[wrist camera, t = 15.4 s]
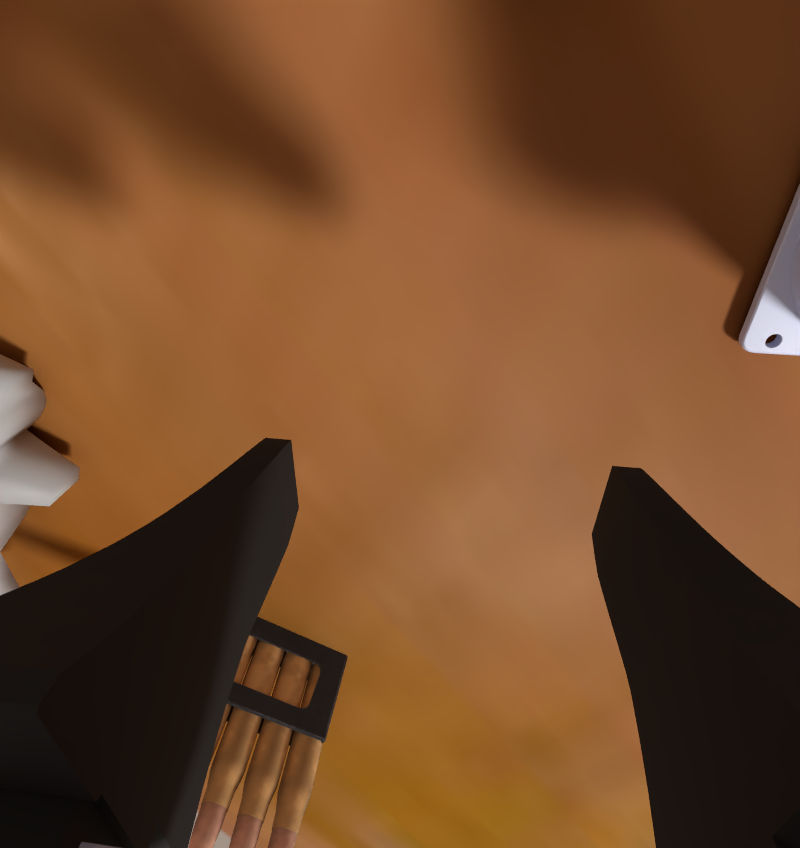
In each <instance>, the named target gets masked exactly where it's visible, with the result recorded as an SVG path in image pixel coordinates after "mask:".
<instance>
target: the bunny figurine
mask: <svg viewBox="0 0 800 848" xmlns="http://www.w3.org/2000/svg"><path fill="white" fill-rule="evenodd" d="M33 373H34V370H33V369H31V368H29V367H27V366H25V365H22V364H20V363H18V362H16V361H14V360H12V359H9V358H7V357H5V356H3V355H1V354H0V551H1V550H2V549H3V547H4V546H5V544H6V543H7V541H8V540H9V538H10V537H11V536H12V534H13V533H14V531H15V530H16V528H17V527H18V525H19V524H20V523H21V521H22V520H23V518H24V517H25V515H26V514H27V512H28V509H29V507H30V505H37V506H50V505H51V504H52V503H54V502H55V501H56V500H57V499H58V498H59V497H60V496H61V495H62V494H63V493H64V492H66V491H67V490H68V489H69V488H70V487H71V486H72V485H73V484H74V483H75V482H77V481H78V480H79V467H78V466H76V465H75V464H73V463H72V462H71V461H69V460H68V459H66V458H65V457H64V456H62V455H61V454H59V453H58V452H57V451H55V450H54V449H52V448H51V447H50V446H48V445H47V444H45V443H44V442H43V441H41V440H40V439H38V438H37V437H36V436H35V435H33V434H32V433H31V432H29V431H28V430H27V429H28V428H29V427H30V426H31V425H32V424H33V423H34V422H35V421H36V420H37V419H38V418H39V417H40V416H41V414H42V412H43V410H44V408H45V405H46V397H45V393H44V391H43V390H42V389H41V388H39V387H38V386H37V385H36V384H34V383H33V382H32V379H33ZM17 588H19V586H18V584H17V582H16V580H15V578H14V576H13V575H12V573H11V571H10V569H9V567H8V566H7V564H6V562H5V560H4V558H3V557H2V555H1V553H0V595H2V594H4V593H7V592H10V591H12V590H14V589H17Z"/></svg>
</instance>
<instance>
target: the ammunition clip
mask: <svg viewBox="0 0 800 848" xmlns="http://www.w3.org/2000/svg"><path fill="white" fill-rule="evenodd" d="M252 655H253V656H252ZM251 656H252V659H251ZM250 659H251V662H250V664H249V661H250ZM346 661H347V655H345V654H342V653H340V652H338V651H335V650H333V649H331V648H328V647H326V646H324V645H321V644H319V643H317V642H314V641H312V640H310V639H308V638H305V637H303V636H301V635H298V634H296V633H294V632H291V631H289V630H287V629H284V628H282V627H280V626H277V625H275V624H273V623H271V622H268V621H266V620H264V619H261V618H259V617H257V618H256V620H255V623H254V625H253V627H252V630H251V632H250V635H249V637H248V640H247V642H246V645H245V648H244V651H243V654H242V657H241V660H240V663H239V666H238V669H237V672H236V676H235V679H234V682H233V685H232V688H231V691H230V695H229V698H228V701H227V705H226V708H225V711H224V715H223V718H222V721H221V725H220V728H219V731H218V735H217V738H216V742H215V746H214V749H213V753H212V756H211V759H212V757H213V754H214V751H215V749H216V746H217V744H218V741H219V739H220V736H221V733H222V731H223V728H224V726H225V723H226V721H228V723H227V726H226V728H225V731H224V734H223V736H222V739H221V742H220V745H219V747H218V750H217V753H216V755H215V758H214V761H213V763H212V767H211V770H210V775H209V780H208V785H207V789H206V792H205V795H204V798H203V801H202V804H201V808H200V811H199V814H198V817H197V819H196V822H195V826H194V829H193V832H192V836H191V839H190V843H189V847H188V848H213V846H214V844H215V841H216V839H217V836H218V834H219V832H220V829H221V826H222V824H223V821H224V818H225V815H226V812H227V811H228V808H229V806H230V803H231V800H232V798H233V795H234V793H235V791H236V789H237V787H238V785H239V783H240V781H241V779H242V777H243V775H244V772H245V769H246V766H247V763H248V760H249V757H250V754H251V751H252V748H253V745H254V742H255V739H256V736H257V733H259V737H258V740H257V744H256V747H255V750H254V753H253V756H252V759H251V762H250V766H249V769H248V772H247V775H246V778H245V782H244V788H243V795H242V801H241V804H240V808H239V812H238V815H237V821H236V824H235V828H234V831H233V834H232V838H231V842H230V846H229V848H255V846H256V843H257V840H258V837H259V833H260V830H261V826H262V824H263V822H264V819H265V816H266V813H267V810H268V806H269V804H270V802H271V799H272V797H273V795H274V793H275V791H276V788H277V785H278V782H279V779H280V775H281V771H282V768H283V764H284V761H285V757H286V754H287V750H288V746H289V745H290V749H289V752H288V756H287V760H286V764H285V767H284V771H283V775H282V779H281V782H280V786H279V790H278V796H277V805H276V813H275V817H274V822H273V826H272V833H271V837H270V841H269V845H268V848H294V846H295V842H296V837H297V835H298V832H299V829H300V825H301V821H302V817H303V815H304V812H305V810H306V807H307V805H308V802H309V800H310V796H311V792H312V787H313V783H314V779H315V774H316V770H317V766H318V761H319V757H320V752H321V748H322V744H323V742H325V740H326V736H327V732H328V728H329V725H330V721H331V717H332V714H333V710H334V706H335V702H336V699H337V695H338V691H339V687H340V684H341V680H342V676H343V673H344V669H345V665H346ZM248 664H249V667H248ZM247 667H248V670H247V672H246V669H247ZM279 667H281V668H280V671H279V674H278V678H277V681H276V684H275V687H274V690H273V693H272V696H270V694H271V691H272V688H273V685H274V682H275V679H276V676H277V673H278V670H279ZM245 672H246V675H245V678H244V680H243V683H242V685H241V682H242V679H243V677H244V674H245ZM306 682H307V685H306ZM305 686H306V689H305ZM304 689H305V692H304ZM303 693H304V696H303ZM302 696H303V700H302ZM301 700H302V704H301ZM300 704H301V707H300ZM299 707H300V708H299ZM210 762H211V760H210Z"/></svg>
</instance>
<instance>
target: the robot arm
mask: <svg viewBox="0 0 800 848" xmlns="http://www.w3.org/2000/svg"><path fill="white" fill-rule="evenodd" d="M773 334H777V337H776V338H775V339H774V341H772V342H770V343H765V342H766V339H767V338H768V337H769V336H771V335H773ZM738 341H739V344H740V345H741V346H742V347H743V348H744V349H745V350H746V351H748V352H752V353H766V354H782V355H798V356H800V184H799V186H798V189H797V191H796V194H795V197H794V199H793V202H792V204H791V207H790V209H789V212H788V214H787V217H786V219H785V222H784V224H783V227H782V229H781V232H780V234H779V237H778V239H777V242H776V244H775V247H774V249H773V252H772V254H771V257H770V259H769V262H768V264H767V267H766V269H765V272H764V274H763V277H762V279H761V282H760V284H759V287H758V289H757V292H756V294H755V297H754V300H753V302H752V305H751V307H750V310H749V312H748V315H747V317H746V320H745V322H744V325H743V327H742V330H741V332H740V335H739V340H738ZM298 508H299V505H298V496H297V488H296V479H295V470H294V461H293V453H292V444H291V440H284V439H272V438H265V439H263V440H262V441H261V442H259V443H258V444H257V445H256V446H254V447H253V448H252V449H250V450H249V451H248V452H247V453H245V454H244V455H243V456H242V457H240V458H239V459H238V460H237V461H235V462H234V463H233V464H232V465H230V466H229V467H228V468H227V469H225V470H224V471H223V472H221V473H220V474H219V475H217V476H216V477H215V478H214V479H212V480H211V481H210V482H208V483H207V484H206V485H204V486H203V487H202V488H200V489H199V490H197V491H196V492H195V493H193V494H192V495H190V496H189V497H187V498H186V499H185V500H183V501H182V502H180V503H179V504H177V505H176V506H175V507H173V508H172V509H170V510H169V511H167V512H166V513H164V514H163V515H161V516H160V517H158V518H157V519H155V520H153V521H152V522H150V523H149V524H147V525H145V526H144V527H142V528H140V529H138V530H137V531H135V532H133V533H132V534H130V535H128V536H126V537H125V538H123V539H121V540H119V541H117V542H116V543H114V544H112V545H110V546H108V547H106V548H104V549H102V550H100V551H98V552H96V553H94V554H92V555H90V556H88V557H86V558H84V559H82V560H80V561H78V562H76V563H74V564H72V565H70V566H68V567H66V568H64V569H61V570H59V571H57V572H55V573H52V574H50V575H48V576H46V577H43V578H41V579H39V580H36V581H34V582H32V583H29V584H27V585H24V586H22V587H19V588H17V589H14V590H12V591H10V592H7V593H4V594H2V595H0V848H188V844H189V840H190V836H191V832H192V828H193V824H194V820H195V817H196V813H197V809H198V805H199V801H200V797H201V793H202V789H203V785H204V782H205V778H206V774H207V771H208V767H209V764H210V760H211V756H212V753H213V749H214V746H215V742H216V738H217V735H218V731H219V728H220V725H221V721H222V718H223V715H224V711H225V708H226V705H227V701H228V698H229V695H230V691H231V688H232V685H233V682H234V679H235V676H236V672H237V669H238V666H239V663H240V660H241V657H242V654H243V651H244V648H245V645H246V642H247V640H248V637H249V635H250V632H251V630H252V627H253V625H254V623H255V620H256V618H257V616H258V613H259V611H260V609H261V607H262V604H263V602H264V600H265V597H266V595H267V593H268V591H269V588H270V586H271V584H272V581H273V579H274V577H275V575H276V572H277V570H278V568H279V565H280V563H281V561H282V558H283V556H284V554H285V551H286V549H287V546H288V543H289V540H290V537H291V533H292V530H293V527H294V523H295V519H296V516H297V512H298ZM592 539H593V546H594V554H595V560H596V567H597V573H598V577H599V581H600V585H601V588H602V592H603V595H604V599H605V602H606V606H607V609H608V613H609V616H610V619H611V623H612V626H613V630H614V633H615V636H616V640H617V643H618V646H619V650H620V653H621V657H622V660H623V663H624V667H625V670H626V674H627V678H628V682H629V686H630V690H631V695H632V700H633V706H634V711H635V716H636V722H637V727H638V733H639V738H640V744H641V750H642V756H643V762H644V768H645V775H646V781H647V787H648V793H649V800H650V807H651V814H652V822H653V829H654V836H655V843H656V848H800V608H799V607H798V606H797V605H795V604H794V603H793V602H791V601H790V600H788V599H787V598H786V597H784V596H783V595H782V594H780V593H779V592H778V591H776V590H775V589H774V588H772V587H771V586H770V585H769V584H767V583H766V582H765V581H763V580H762V579H761V578H760V577H758V576H757V575H756V574H755V573H754V572H752V571H751V570H750V569H749V568H748V567H746V566H745V565H744V564H743V563H742V562H741V561H739V560H738V559H737V558H736V557H735V556H734V555H732V554H731V553H730V552H729V551H728V550H727V549H725V548H724V547H723V546H722V545H721V544H720V543H719V542H718V541H716V540H715V539H714V538H713V537H712V536H711V535H710V534H709V533H708V532H707V531H706V530H705V529H703V528H702V527H701V526H700V525H699V524H698V523H697V522H696V521H695V520H694V519H693V518H692V517H691V516H690V515H689V514H688V513H687V512H686V511H685V510H684V509H683V508H682V507H681V506H680V505H679V504H678V503H677V502H675V501H674V500H673V499H672V498H671V497H670V496H669V495H668V494H667V493H666V492H665V491H664V490H663V489H662V488H661V487H660V486H659V485H658V484H657V483H656V482H655V481H654V480H653V479H652V478H651V477H650V476H649V475H648V474H647V473H646V472H645V471H644V470H642V469H641V468H631V467H618V466H612V469H611V472H610V475H609V479H608V482H607V485H606V489H605V492H604V495H603V499H602V502H601V505H600V509H599V512H598V515H597V519H596V522H595V525H594V529H593V532H592Z"/></svg>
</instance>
